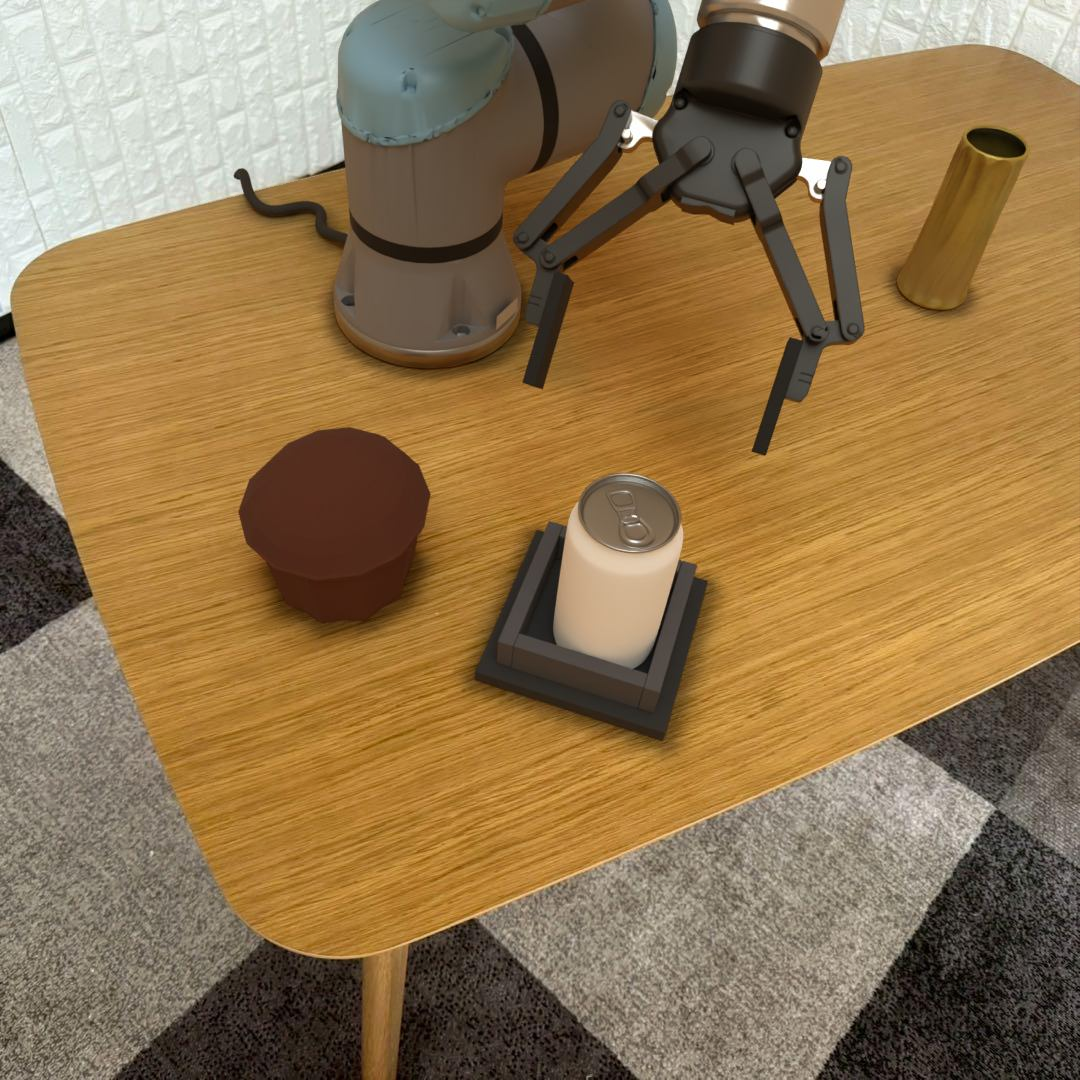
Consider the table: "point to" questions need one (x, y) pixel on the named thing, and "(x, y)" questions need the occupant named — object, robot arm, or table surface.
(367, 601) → the muffin
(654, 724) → the socket pad
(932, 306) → the vase
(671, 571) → the can
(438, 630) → the table surface
